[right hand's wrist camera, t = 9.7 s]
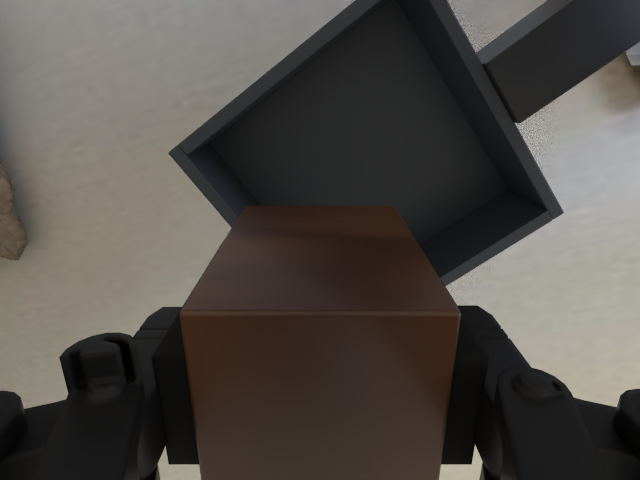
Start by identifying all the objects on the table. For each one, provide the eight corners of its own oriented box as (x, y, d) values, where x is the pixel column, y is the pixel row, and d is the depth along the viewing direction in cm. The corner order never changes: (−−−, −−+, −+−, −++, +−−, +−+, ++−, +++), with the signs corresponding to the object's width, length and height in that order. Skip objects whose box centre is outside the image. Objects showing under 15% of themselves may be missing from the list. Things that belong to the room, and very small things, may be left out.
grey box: (334, 306, 27) (338, 357, 22) (198, 139, 24) (164, 154, 18) (664, 92, 23) (766, 94, 18) (561, -155, 19) (651, -243, 14)
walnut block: (253, 334, 16) (204, 515, 9) (244, 204, 14) (177, 312, 7) (387, 334, 16) (435, 515, 9) (395, 204, 14) (462, 312, 7)
